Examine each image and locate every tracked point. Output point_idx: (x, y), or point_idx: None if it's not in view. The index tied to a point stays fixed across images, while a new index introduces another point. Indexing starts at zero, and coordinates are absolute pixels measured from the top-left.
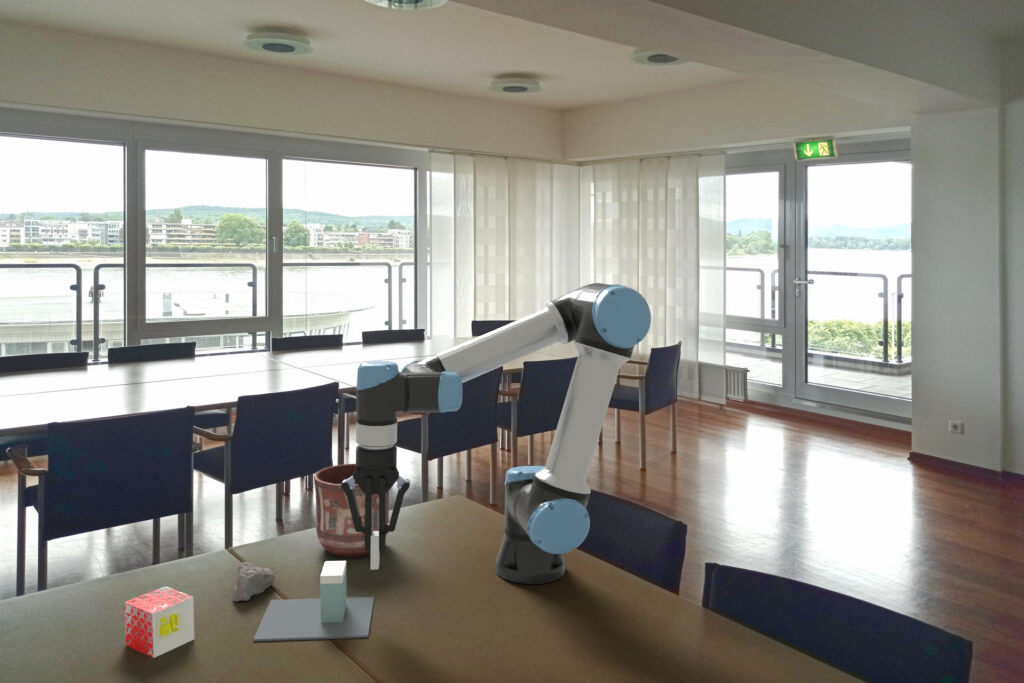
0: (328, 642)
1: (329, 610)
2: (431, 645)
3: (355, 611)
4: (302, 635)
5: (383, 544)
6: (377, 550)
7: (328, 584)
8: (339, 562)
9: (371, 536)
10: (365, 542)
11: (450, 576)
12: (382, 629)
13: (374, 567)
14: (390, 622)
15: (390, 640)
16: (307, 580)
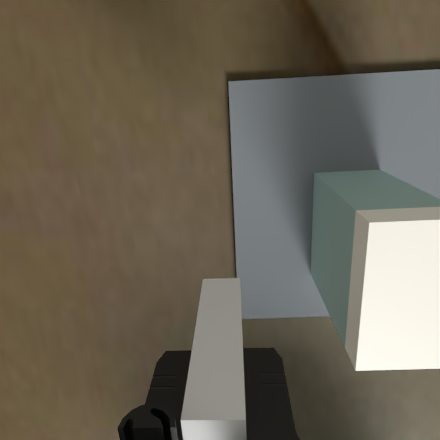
0: (348, 50)
1: (367, 179)
2: (23, 23)
3: (281, 237)
4: (434, 84)
5: (162, 379)
6: (200, 338)
7: (415, 205)
8: (384, 355)
9: (240, 415)
10: (282, 389)
11: (58, 423)
12: (191, 135)
13: (220, 283)
14: (174, 179)
15: (157, 61)
16: (420, 414)
